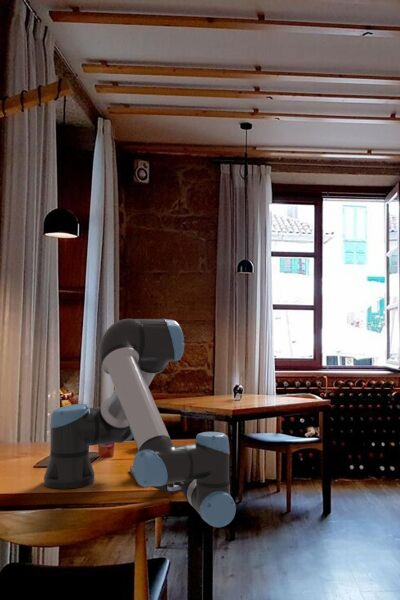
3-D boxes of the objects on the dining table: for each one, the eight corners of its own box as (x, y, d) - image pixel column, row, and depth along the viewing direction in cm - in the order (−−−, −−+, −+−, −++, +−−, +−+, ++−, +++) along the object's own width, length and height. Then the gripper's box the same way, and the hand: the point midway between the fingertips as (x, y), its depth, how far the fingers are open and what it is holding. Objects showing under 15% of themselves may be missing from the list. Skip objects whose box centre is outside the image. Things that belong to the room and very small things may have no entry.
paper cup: (92, 457, 198) (92, 419, 199) (102, 453, 205) (102, 416, 206) (110, 459, 196) (110, 420, 197) (120, 454, 203) (120, 417, 204)
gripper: (150, 513, 125) (135, 488, 145) (249, 503, 132) (222, 481, 152) (150, 480, 125) (135, 461, 146) (249, 472, 132) (222, 454, 153)
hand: (180, 471), depth 149 cm, fingers open, 13 cm apart
